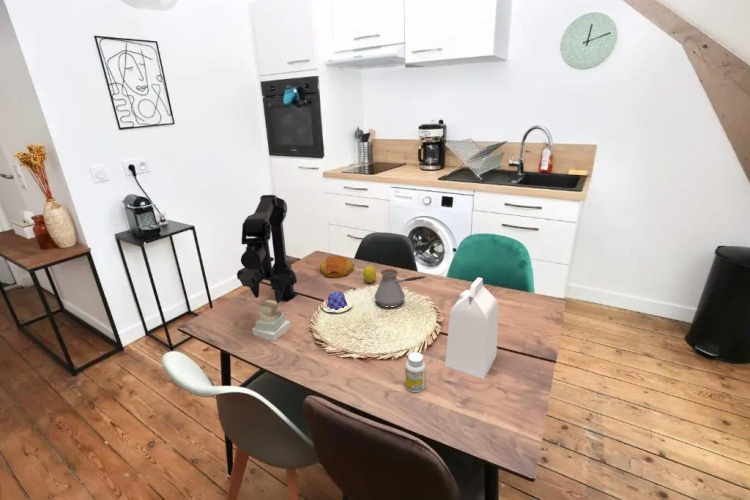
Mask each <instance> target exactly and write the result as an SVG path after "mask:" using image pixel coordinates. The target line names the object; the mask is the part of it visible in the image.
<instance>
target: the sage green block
mask: <svg viewBox="0 0 750 500" xmlns="http://www.w3.org/2000/svg"><path fill="white" fill-rule="evenodd" d="M285 320H286V316H285V313H282V312H281V316H280V317H279V318H277V319H276V320H275V321H273V322H272V323H271V322H267V321H264V320H260V317H259V318H258V319H257V320H256V321H255V326H256V330H261V331H268V332H276V331H277V330H278V329H279V328H280V327H281V325H282V324H283V323H284V322H285Z"/></svg>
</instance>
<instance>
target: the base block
mask: <svg viewBox="0 0 750 500" xmlns="http://www.w3.org/2000/svg"><path fill="white" fill-rule="evenodd" d="M291 324H292V323H291V321H289V320H286V319H285V322H284V323H283V324H282V325H281V327H280V328H279V329H278V330H277V331H276V332H268V331H261V330H256V325H255V326H254V327H253V328H251V331H252V336H255V337H258V338H261V339H264V340H267V341H272V342H276V340H278V339H279V338H280V337H281V336H283V335H284V334H285V333H286V332H287V331H289V330H290V329H291V328H292V326H291Z"/></svg>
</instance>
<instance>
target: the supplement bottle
mask: <svg viewBox="0 0 750 500" xmlns="http://www.w3.org/2000/svg"><path fill="white" fill-rule="evenodd" d="M407 356H408V357H407V361H406V362H405V374H404V375H405V376H404V377H405V387H406V389H407V390H409V392H413V393H420V392H422V391H423V390H425V387H426V369H427V368H426V363H425V361H424V355H423V354H422V353H420V352H416V351H413V352H410V353H409V354H408V355H407Z"/></svg>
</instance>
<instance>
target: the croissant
mask: <svg viewBox="0 0 750 500" xmlns="http://www.w3.org/2000/svg"><path fill="white" fill-rule="evenodd" d="M354 268H355V263H354V262H353V261H351V259H350V258H348V257H345V256H342V255H336V256H335V255H334V256H328V257H327V258H325V260H323V261H322V262H320V264H319V270H320V273H321V274H323V275H324V277H325V278H332V279H333V278H334V279H335V278H336V279H338V278H342V277H347V276H349V275H350V274H351V272H353V270H354Z"/></svg>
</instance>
